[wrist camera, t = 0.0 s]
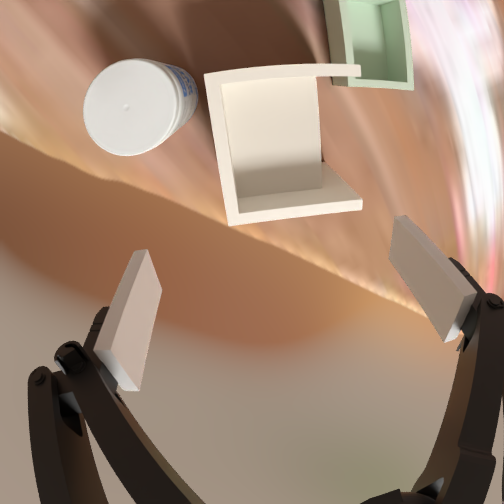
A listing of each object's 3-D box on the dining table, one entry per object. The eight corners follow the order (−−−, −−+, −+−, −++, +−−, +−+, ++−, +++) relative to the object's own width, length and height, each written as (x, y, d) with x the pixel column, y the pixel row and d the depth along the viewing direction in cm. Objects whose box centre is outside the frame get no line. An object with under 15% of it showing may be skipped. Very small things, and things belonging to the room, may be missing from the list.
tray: (332, 85, 35) (348, 86, 30) (321, -6, 27) (335, -17, 22) (392, 87, 35) (413, 90, 30) (383, 1, 27) (404, -6, 22)
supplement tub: (211, 80, 34) (199, 78, 21) (180, 141, 38) (155, 173, 26) (146, 55, 31) (103, 45, 18) (119, 117, 35) (69, 139, 23)
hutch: (213, 77, 33) (203, 74, 22) (318, 68, 33) (360, 64, 22) (229, 180, 42) (228, 226, 30) (325, 169, 41) (362, 209, 30)
